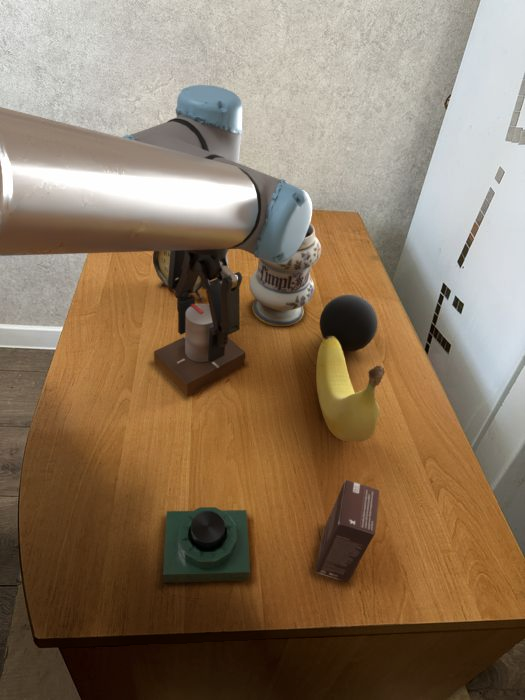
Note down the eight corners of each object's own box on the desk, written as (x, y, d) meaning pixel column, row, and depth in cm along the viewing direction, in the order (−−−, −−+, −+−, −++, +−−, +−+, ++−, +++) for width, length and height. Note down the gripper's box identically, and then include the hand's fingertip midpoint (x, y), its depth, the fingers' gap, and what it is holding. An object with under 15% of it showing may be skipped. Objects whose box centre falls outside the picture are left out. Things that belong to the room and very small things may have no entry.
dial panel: (187, 397, 83) (187, 383, 81) (153, 363, 87) (153, 350, 85) (245, 365, 89) (246, 351, 87) (211, 335, 94) (211, 322, 92)
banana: (306, 362, 92) (328, 266, 78) (339, 363, 92) (367, 268, 79) (327, 475, 75) (360, 378, 62) (366, 475, 76) (408, 379, 62)
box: (350, 583, 64) (376, 535, 56) (314, 573, 65) (334, 523, 56) (356, 539, 68) (381, 488, 60) (322, 529, 69) (342, 477, 61)
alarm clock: (152, 287, 102) (149, 211, 91) (167, 274, 106) (166, 199, 95) (201, 307, 99) (204, 231, 88) (215, 292, 103) (220, 218, 92)
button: (190, 551, 61) (190, 542, 60) (190, 519, 64) (191, 510, 63) (224, 550, 62) (225, 542, 60) (223, 519, 65) (224, 510, 63)
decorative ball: (323, 319, 101) (334, 276, 94) (374, 336, 99) (389, 293, 92) (308, 352, 94) (318, 307, 87) (362, 370, 92) (377, 327, 85)
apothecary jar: (262, 283, 107) (273, 202, 95) (317, 304, 104) (336, 222, 92) (235, 316, 99) (243, 231, 86) (294, 339, 96) (311, 254, 84)
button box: (163, 582, 62) (162, 567, 59) (167, 519, 68) (166, 503, 65) (248, 580, 63) (251, 565, 60) (244, 518, 69) (247, 502, 66)
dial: (222, 353, 87) (225, 314, 81) (197, 366, 84) (199, 327, 78) (203, 337, 89) (204, 298, 83) (178, 349, 86) (178, 309, 81)
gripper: (278, 242, 67) (259, 369, 82) (183, 178, 77) (182, 303, 92) (233, 261, 63) (222, 391, 78) (139, 191, 72) (145, 319, 88)
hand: (200, 343), depth 85 cm, fingers open, 7 cm apart
